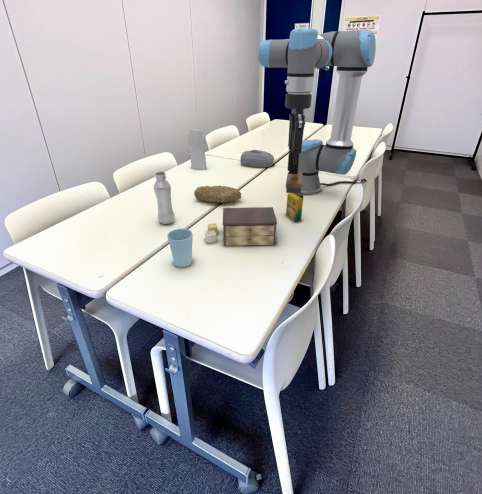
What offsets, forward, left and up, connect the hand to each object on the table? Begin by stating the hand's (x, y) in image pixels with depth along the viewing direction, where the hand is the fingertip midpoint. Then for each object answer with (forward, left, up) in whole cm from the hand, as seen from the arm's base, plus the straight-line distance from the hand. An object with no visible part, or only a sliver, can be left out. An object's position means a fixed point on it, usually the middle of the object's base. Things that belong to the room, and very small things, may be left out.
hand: (292, 171), depth 105 cm
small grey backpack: (+4, -88, -25) cm, 91 cm away
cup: (+36, +16, -25) cm, 47 cm away
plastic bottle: (+46, -13, -25) cm, 54 cm away
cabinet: (+14, 0, -24) cm, 28 cm away
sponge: (+26, -34, -25) cm, 49 cm away
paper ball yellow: (+28, -3, -21) cm, 35 cm away
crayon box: (-5, -15, -25) cm, 29 cm away
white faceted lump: (+28, +2, -21) cm, 35 cm away
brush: (-1, 0, -5) cm, 5 cm away
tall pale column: (+39, -82, -25) cm, 94 cm away
